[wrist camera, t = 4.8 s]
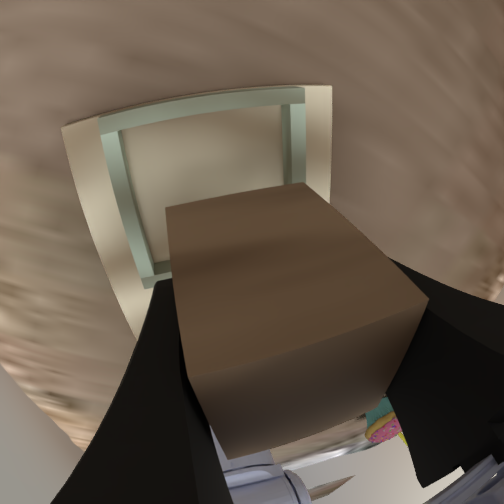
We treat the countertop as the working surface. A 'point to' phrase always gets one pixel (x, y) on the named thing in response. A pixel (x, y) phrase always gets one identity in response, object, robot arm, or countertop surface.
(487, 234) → the countertop surface
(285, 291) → the walnut block
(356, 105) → the countertop surface
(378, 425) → the cupcake
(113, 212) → the board
